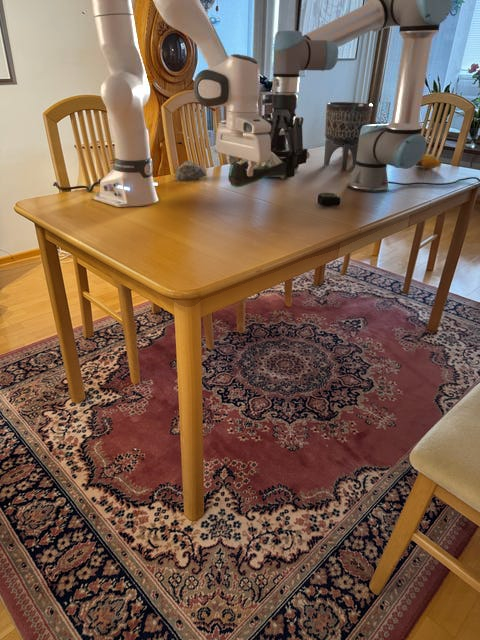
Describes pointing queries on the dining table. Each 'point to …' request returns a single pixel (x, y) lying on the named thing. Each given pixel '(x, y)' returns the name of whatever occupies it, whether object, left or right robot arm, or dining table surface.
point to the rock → (190, 172)
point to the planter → (345, 128)
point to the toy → (428, 162)
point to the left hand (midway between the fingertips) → (240, 173)
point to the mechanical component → (286, 152)
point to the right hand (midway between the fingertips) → (280, 174)
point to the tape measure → (328, 199)
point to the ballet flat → (256, 171)
